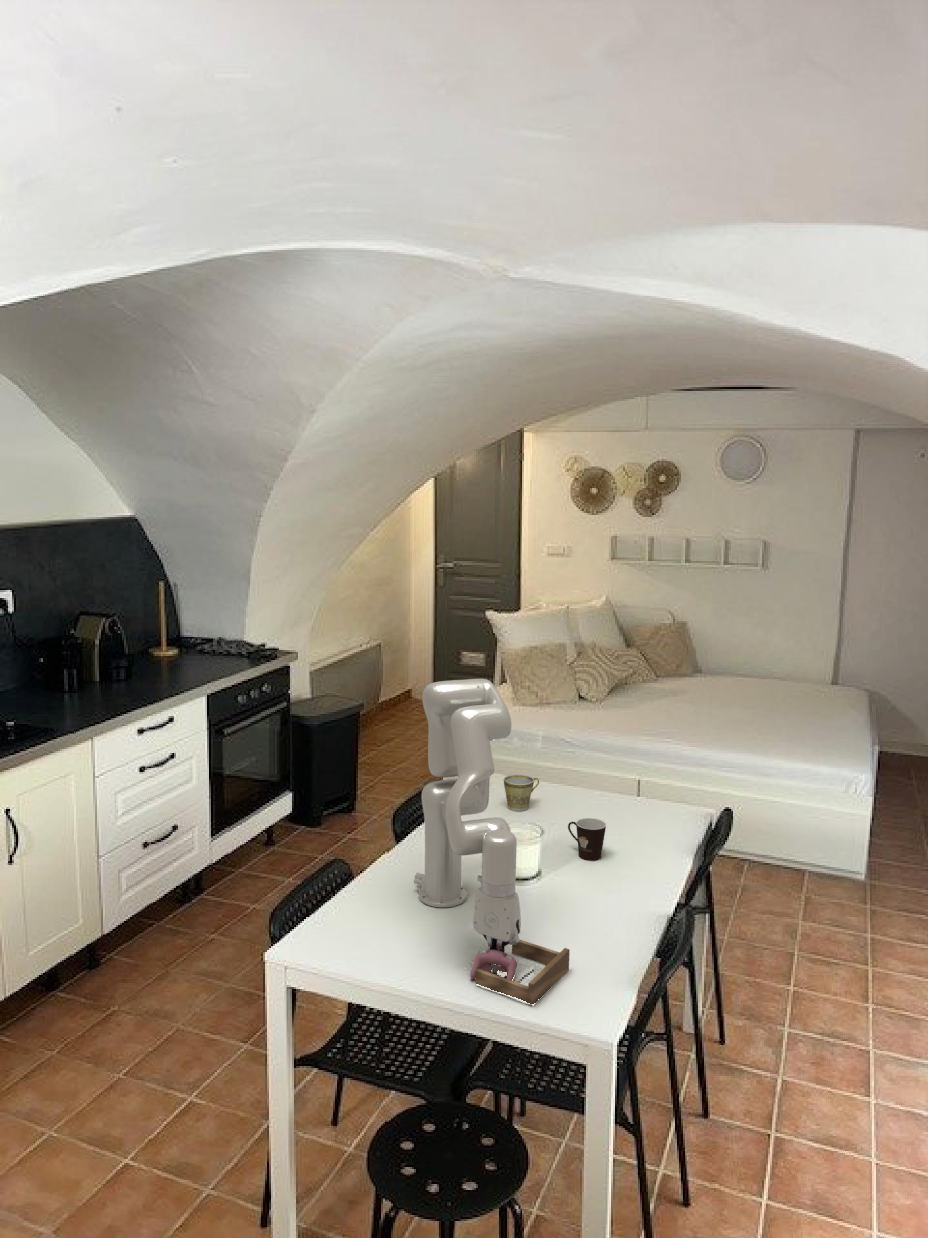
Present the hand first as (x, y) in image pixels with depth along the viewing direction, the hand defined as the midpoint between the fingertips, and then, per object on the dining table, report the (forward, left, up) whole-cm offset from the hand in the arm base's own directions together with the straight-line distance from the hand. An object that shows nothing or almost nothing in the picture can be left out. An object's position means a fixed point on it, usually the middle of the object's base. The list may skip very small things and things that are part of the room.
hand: (496, 962), depth 206 cm
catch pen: (+7, 0, -1) cm, 7 cm away
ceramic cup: (-43, +90, -2) cm, 100 cm away
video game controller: (+2, -4, -2) cm, 5 cm away
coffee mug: (-9, +68, -2) cm, 68 cm away
